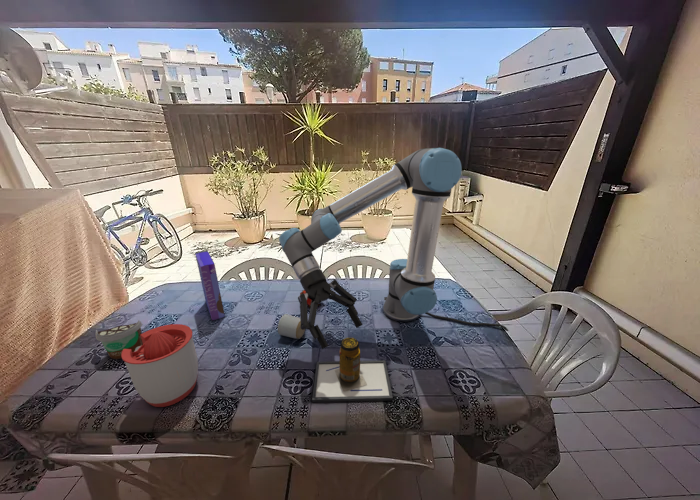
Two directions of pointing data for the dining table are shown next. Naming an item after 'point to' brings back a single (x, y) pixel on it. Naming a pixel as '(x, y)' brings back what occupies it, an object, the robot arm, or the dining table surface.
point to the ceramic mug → (290, 326)
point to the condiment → (350, 365)
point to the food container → (120, 339)
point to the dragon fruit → (308, 299)
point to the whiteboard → (375, 389)
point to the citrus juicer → (163, 365)
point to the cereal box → (210, 284)
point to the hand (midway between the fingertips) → (343, 336)
